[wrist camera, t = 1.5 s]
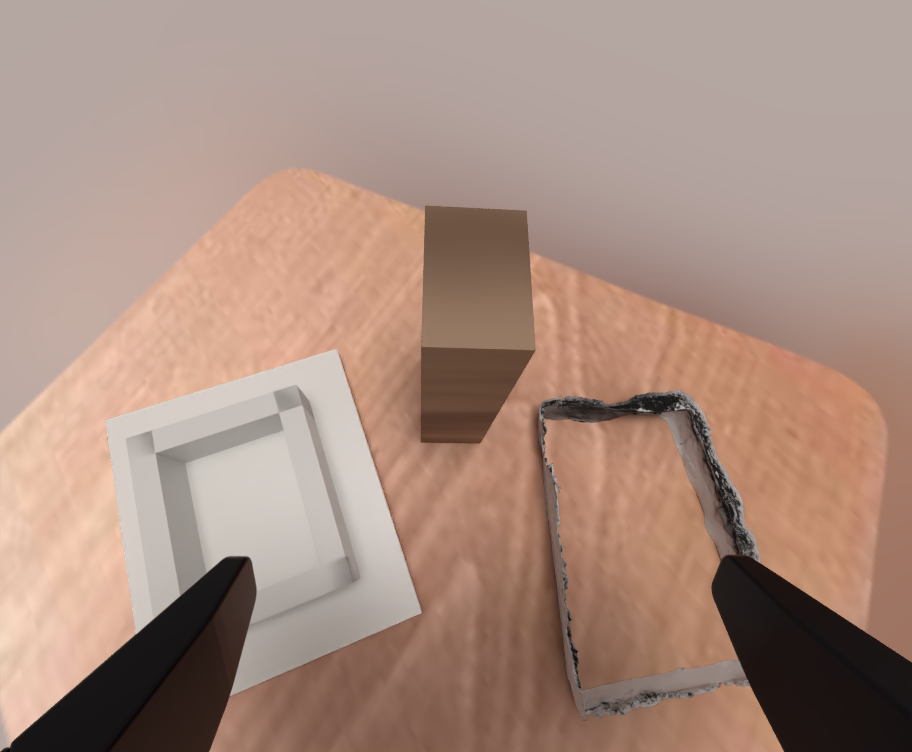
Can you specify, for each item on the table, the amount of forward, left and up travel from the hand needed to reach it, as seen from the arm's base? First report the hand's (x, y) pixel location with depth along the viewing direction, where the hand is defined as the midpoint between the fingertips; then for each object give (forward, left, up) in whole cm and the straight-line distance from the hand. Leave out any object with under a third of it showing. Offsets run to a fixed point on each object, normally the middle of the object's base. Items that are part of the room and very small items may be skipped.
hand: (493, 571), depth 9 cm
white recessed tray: (-4, +8, -13) cm, 16 cm away
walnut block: (+6, +5, -13) cm, 15 cm away
